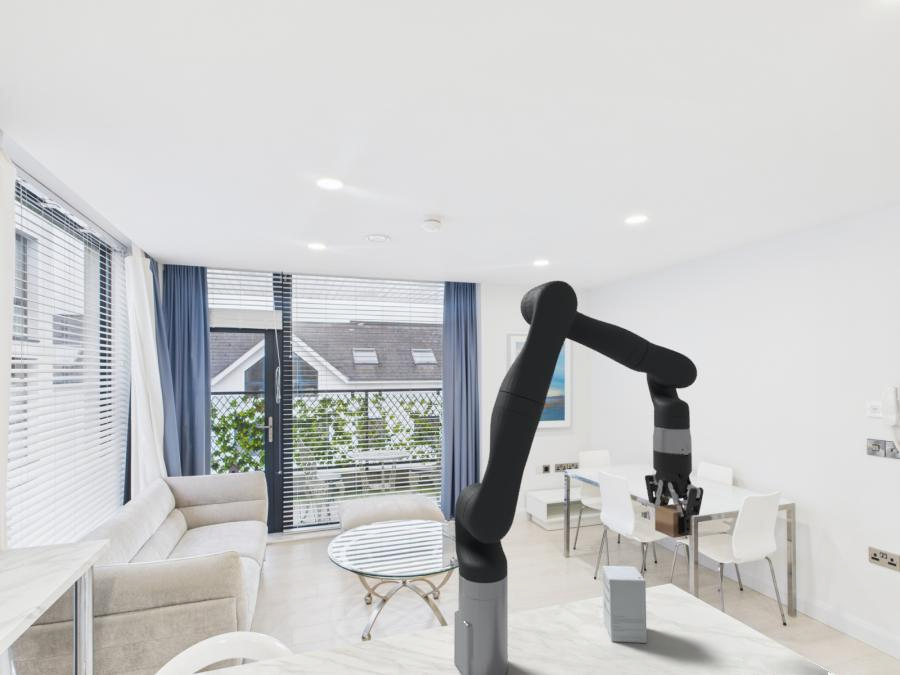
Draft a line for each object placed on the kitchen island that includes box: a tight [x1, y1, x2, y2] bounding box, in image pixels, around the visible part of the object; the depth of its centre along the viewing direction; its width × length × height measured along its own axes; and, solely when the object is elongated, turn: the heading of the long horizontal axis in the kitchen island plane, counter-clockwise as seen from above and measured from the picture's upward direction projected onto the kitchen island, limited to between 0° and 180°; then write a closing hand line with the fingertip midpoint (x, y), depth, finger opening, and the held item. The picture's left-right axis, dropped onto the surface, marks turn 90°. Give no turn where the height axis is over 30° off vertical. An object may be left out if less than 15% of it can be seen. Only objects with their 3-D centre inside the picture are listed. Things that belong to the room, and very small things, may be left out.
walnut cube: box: [654, 503, 693, 538], centre depth 105 cm, size 5×5×5 cm
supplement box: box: [602, 565, 648, 644], centre depth 105 cm, size 7×7×13 cm
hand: (673, 530), depth 104 cm, fingers closed on walnut cube, 5 cm apart
